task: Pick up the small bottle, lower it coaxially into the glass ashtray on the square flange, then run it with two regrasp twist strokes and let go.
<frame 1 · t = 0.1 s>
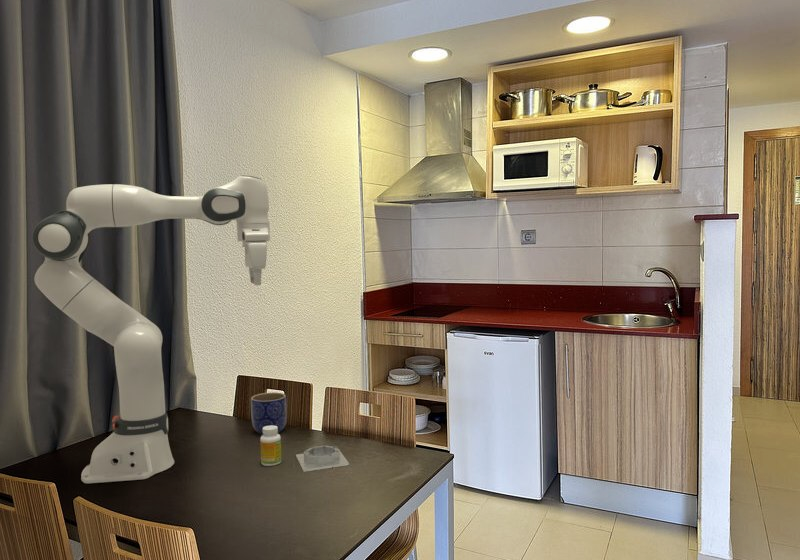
hand: (255, 284, 169), 48 cm above the table, fingers open, 8 cm apart
glass ashtray: (321, 460, 164), on the table
supplement bottle: (271, 463, 163), on the table
planter: (269, 432, 191), on the table
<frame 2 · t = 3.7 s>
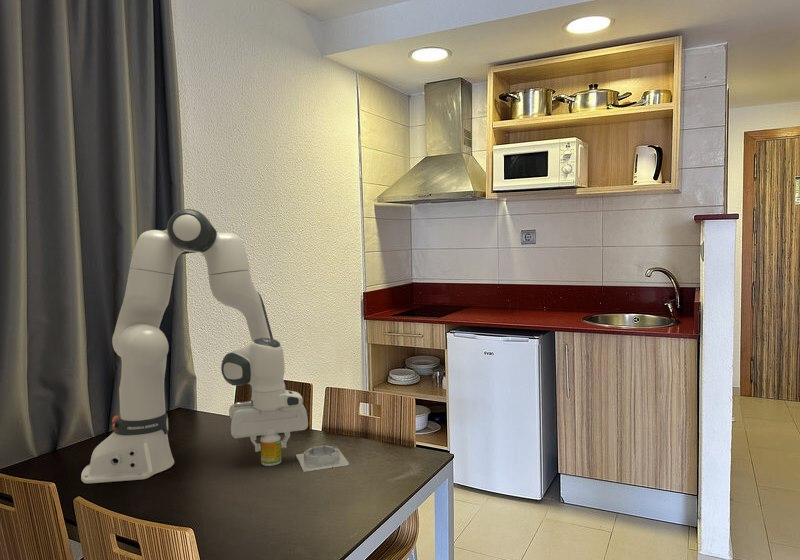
hand: (270, 449, 163), 4 cm above the table, fingers closed on supplement bottle, 5 cm apart
supplement bottle: (271, 463, 163), on the table, touching gripper
everything else where it was.
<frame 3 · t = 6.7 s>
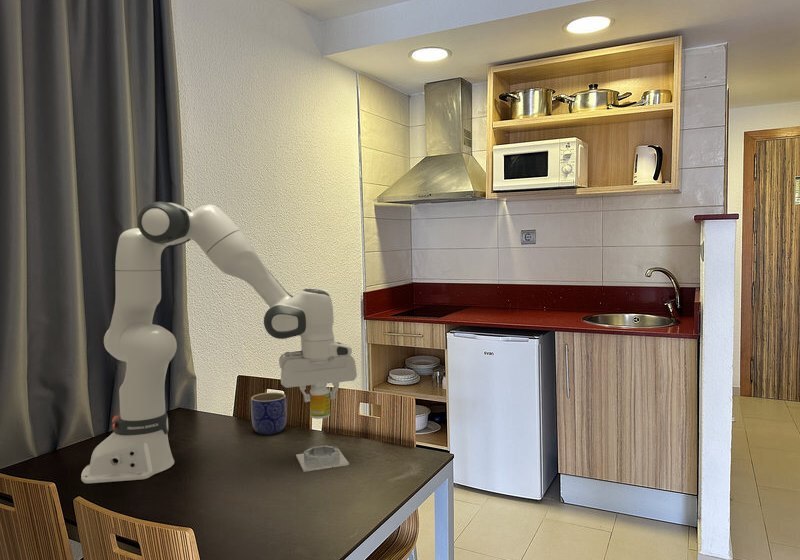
hand: (319, 400, 163), 17 cm above the table, fingers closed on supplement bottle, 5 cm apart
supplement bottle: (320, 416, 163), point 12 cm above the table, touching gripper
everything else where it was.
when the fingers open (5 cm above the table, at t = 9.1 s): supplement bottle stays where it is, resting on glass ashtray.
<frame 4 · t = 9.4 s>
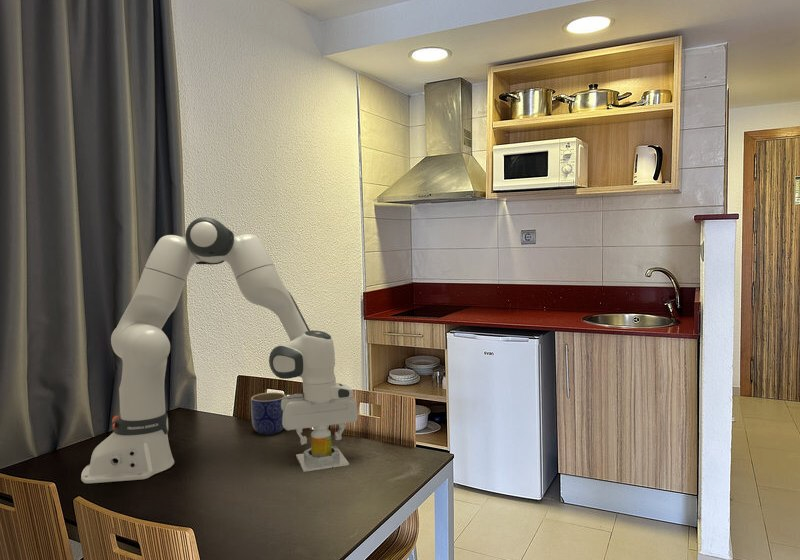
hand: (321, 441, 163), 5 cm above the table, fingers open, 8 cm apart
supplement bottle: (321, 459, 164), resting on glass ashtray
everything else where it was.
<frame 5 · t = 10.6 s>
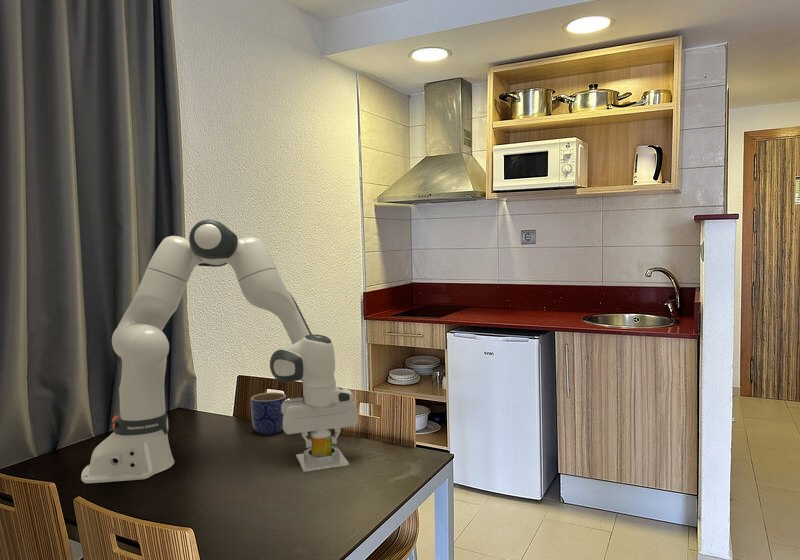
hand: (321, 445, 163), 4 cm above the table, fingers closed on supplement bottle, 5 cm apart
supplement bottle: (321, 459, 164), resting on glass ashtray, touching gripper
everything else where it was.
when the fingers open (4 cm above the table, at t = 12.1 s): supplement bottle stays where it is, resting on glass ashtray.
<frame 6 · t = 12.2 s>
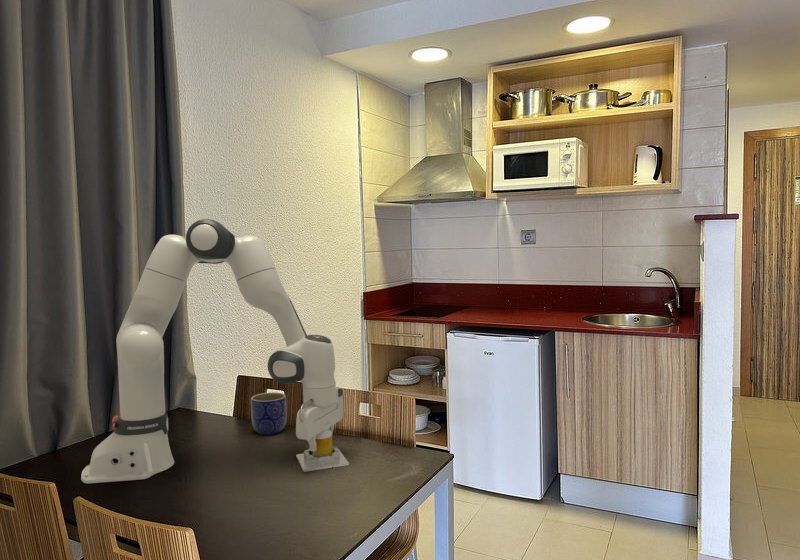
hand: (321, 445, 163), 4 cm above the table, fingers open, 6 cm apart
supplement bottle: (322, 459, 163), resting on glass ashtray
everything else where it was.
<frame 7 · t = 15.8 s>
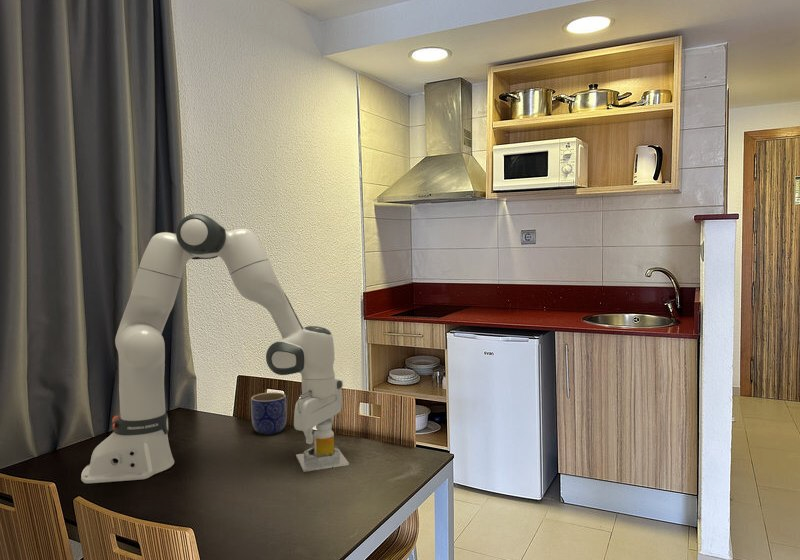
hand: (319, 437, 163), 7 cm above the table, fingers open, 8 cm apart
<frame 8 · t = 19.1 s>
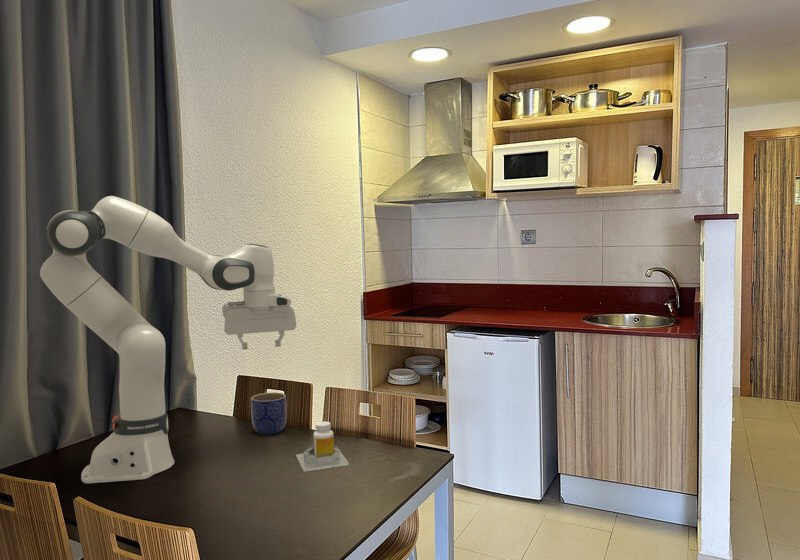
hand: (261, 347, 174), 29 cm above the table, fingers open, 8 cm apart
at the end: supplement bottle 0.8 cm from the glass ashtray (horizontally); supplement bottle resting on glass ashtray; supplement bottle tilted 0° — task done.
